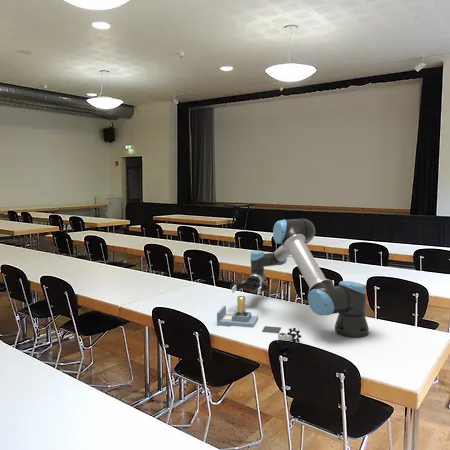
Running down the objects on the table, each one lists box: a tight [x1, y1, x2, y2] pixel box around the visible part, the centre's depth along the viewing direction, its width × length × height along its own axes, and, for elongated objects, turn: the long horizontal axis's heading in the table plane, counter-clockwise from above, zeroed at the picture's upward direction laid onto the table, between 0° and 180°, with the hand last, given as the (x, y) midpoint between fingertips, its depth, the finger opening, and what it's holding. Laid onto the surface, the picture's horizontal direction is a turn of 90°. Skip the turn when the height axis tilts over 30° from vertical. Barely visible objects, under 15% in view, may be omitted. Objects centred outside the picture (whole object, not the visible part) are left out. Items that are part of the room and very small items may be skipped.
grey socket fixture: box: [216, 305, 259, 328], centre depth 214 cm, size 18×12×6 cm, turn 75°
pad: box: [261, 325, 282, 334], centre depth 203 cm, size 8×8×1 cm
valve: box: [277, 327, 302, 343], centre depth 184 cm, size 7×7×12 cm
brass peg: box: [236, 295, 247, 316], centre depth 213 cm, size 4×4×11 cm
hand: (245, 291), depth 222 cm, fingers open, 13 cm apart
